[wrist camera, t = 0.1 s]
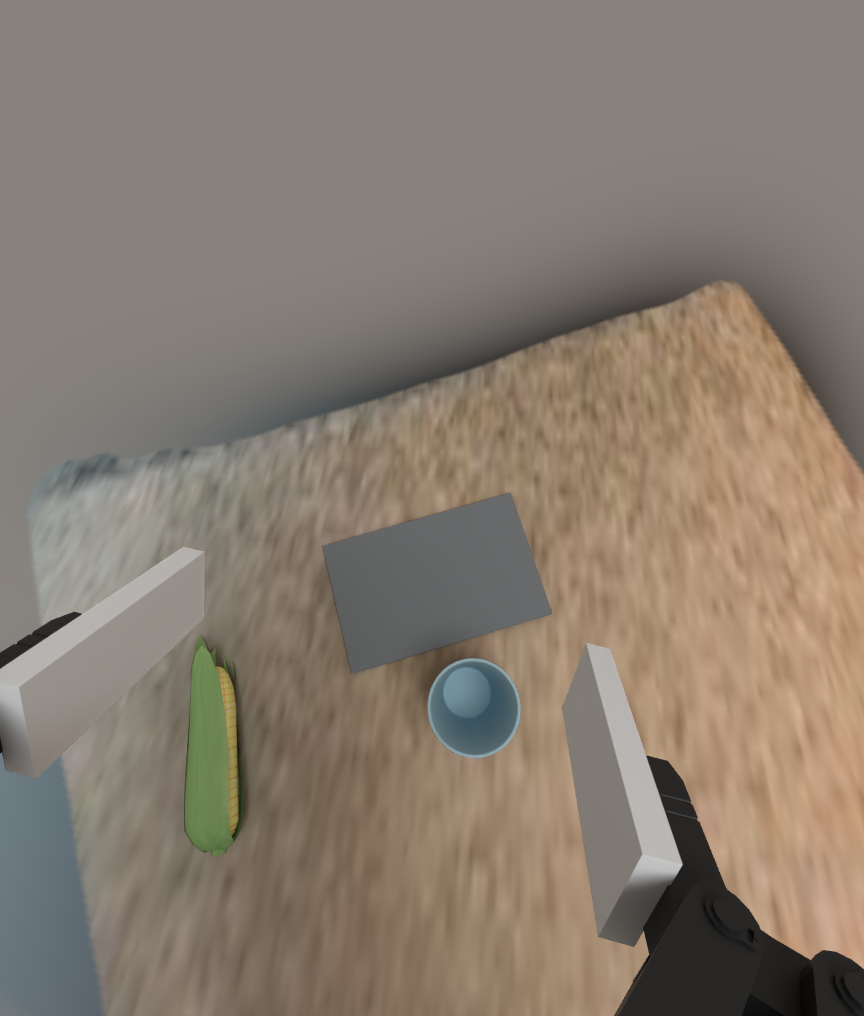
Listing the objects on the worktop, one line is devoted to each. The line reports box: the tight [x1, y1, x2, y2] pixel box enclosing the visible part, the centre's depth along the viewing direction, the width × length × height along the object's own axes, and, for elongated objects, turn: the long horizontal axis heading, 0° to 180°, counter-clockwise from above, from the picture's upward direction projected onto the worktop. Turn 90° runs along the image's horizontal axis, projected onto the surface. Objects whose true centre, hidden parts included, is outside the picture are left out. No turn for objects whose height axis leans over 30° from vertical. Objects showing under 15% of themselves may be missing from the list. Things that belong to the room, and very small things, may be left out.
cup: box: [427, 658, 520, 758], centre depth 44 cm, size 8×8×10 cm
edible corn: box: [184, 635, 243, 857], centre depth 46 cm, size 5×20×5 cm
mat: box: [323, 493, 552, 674], centre depth 51 cm, size 14×22×1 cm, turn 106°
